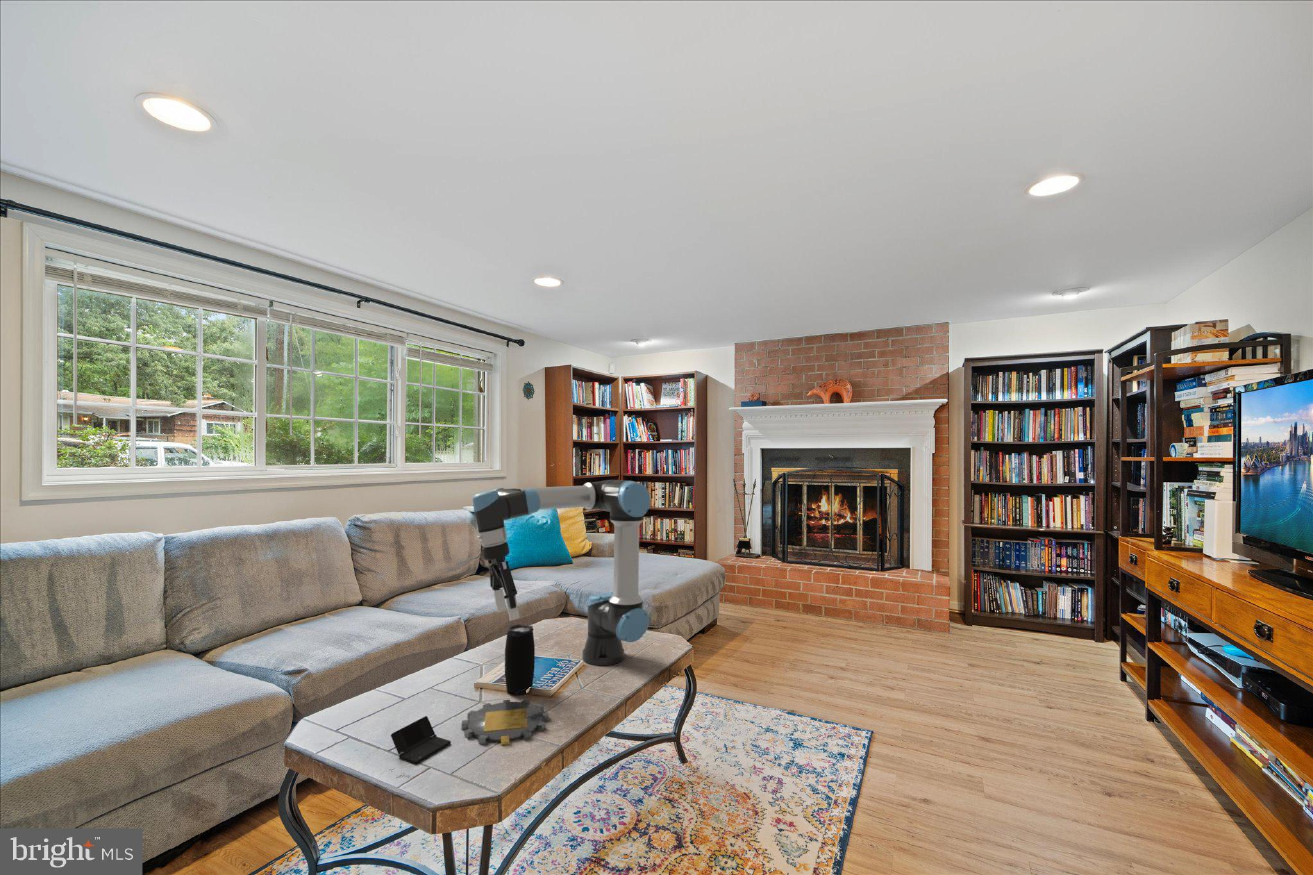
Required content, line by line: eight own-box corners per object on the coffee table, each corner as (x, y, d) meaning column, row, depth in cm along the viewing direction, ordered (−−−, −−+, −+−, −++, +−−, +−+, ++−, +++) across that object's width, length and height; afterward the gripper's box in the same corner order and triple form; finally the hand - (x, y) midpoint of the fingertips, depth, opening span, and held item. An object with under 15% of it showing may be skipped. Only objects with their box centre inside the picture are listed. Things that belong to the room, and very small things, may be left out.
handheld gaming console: (424, 759, 135) (407, 720, 138) (402, 775, 136) (385, 735, 139) (455, 743, 146) (438, 706, 149) (434, 757, 147) (418, 721, 150)
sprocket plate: (465, 708, 165) (465, 702, 165) (546, 701, 170) (546, 695, 170) (457, 749, 142) (457, 742, 142) (550, 739, 148) (550, 732, 148)
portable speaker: (538, 686, 180) (540, 624, 181) (523, 698, 172) (524, 633, 172) (515, 682, 183) (516, 621, 183) (498, 694, 174) (499, 630, 175)
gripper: (472, 544, 175) (485, 611, 176) (492, 550, 154) (507, 627, 154) (496, 538, 179) (509, 604, 179) (519, 543, 158) (533, 618, 158)
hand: (508, 615), depth 167 cm, fingers open, 13 cm apart
